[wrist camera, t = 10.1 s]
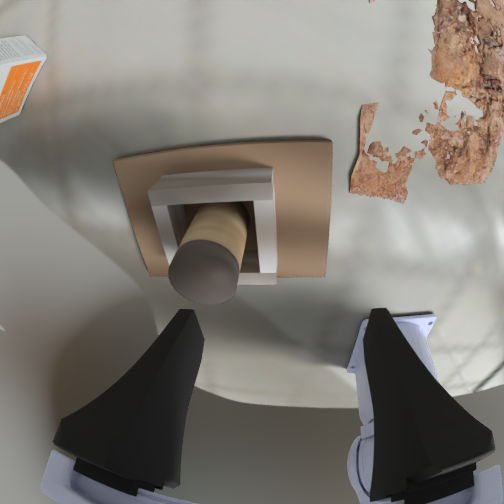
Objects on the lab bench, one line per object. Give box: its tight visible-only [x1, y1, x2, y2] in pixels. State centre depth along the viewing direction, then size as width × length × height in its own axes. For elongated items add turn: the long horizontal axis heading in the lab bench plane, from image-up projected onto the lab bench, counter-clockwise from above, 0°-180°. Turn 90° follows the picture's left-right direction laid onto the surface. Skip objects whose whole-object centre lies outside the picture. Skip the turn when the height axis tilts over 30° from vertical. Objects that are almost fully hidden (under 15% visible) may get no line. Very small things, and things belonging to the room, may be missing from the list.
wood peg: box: [168, 201, 250, 305], centre depth 16 cm, size 4×4×6 cm
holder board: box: [113, 140, 332, 285], centre depth 18 cm, size 10×14×3 cm
